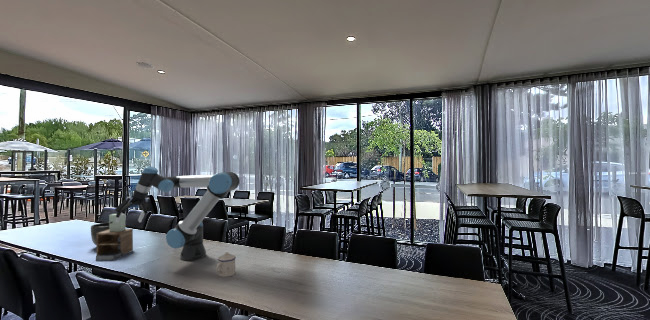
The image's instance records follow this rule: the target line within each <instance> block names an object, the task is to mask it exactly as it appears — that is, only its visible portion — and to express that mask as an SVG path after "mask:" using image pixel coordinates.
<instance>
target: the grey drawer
mask: <svg viewBox="0 0 650 320" xmlns="http://www.w3.org/2000/svg"><path fill="white" fill-rule="evenodd" d="M118 243H121V237H118ZM118 251H121V245H118ZM122 257H124V255H123V252H105V253H102V254H100V255H98V256H97V255H96V256H95V261H96V262H97V261H99V262H100V261H101V262H102V261H107V262H108V261H115V260H118V259H120V258H122Z"/></svg>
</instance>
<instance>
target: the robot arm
mask: <svg viewBox="0 0 650 320" xmlns="http://www.w3.org/2000/svg"><path fill="white" fill-rule="evenodd" d="M240 180H241V179H240V177H239V175H238V174H237V173H235V172H232V171H227V172H226V171H225V172H221V171H220V172H217V173H215V174H211V175H210V174H209V175H208V174H207V175H173V176H162V175H160V174H159V169H157V167H153V166H151V165H147V166H144V168H143V170H142V172H141V175H140V177H139V180H138V182H137V184H136V186H135V189H134V191H133V193H132V196H131V197H130V196H128V195H127V196H126V197H125V199H124V200H122V202H121V203H120V204H119V205H118V206H116V208H114V210H115V211H116V212H117V213H115V214H116V220H115V222H116V223H119V221H120V218H121V216H122V214H124V213H123V212H124V211H126V210H128V208H129V209H130V208H131V207H132V206H140V207H141V209H142V211H141V212H140V215H139V217H138V219H137V221H138V222H139V223H142V222H143V219H144V218H145V217H146V214H149V213H150V212H151V205H150V204H151V202H150V201H151V198H150V197H148V195H149V192H150V191H151V188H152V187H154V188H156V189H157V190H159V191H161V192H163V193H169V192H171V191H172V190H173V189H176V188H178V189H181V188H206V192H205V193H204V194H203V195H202V196H201V198H200V199H199V201H198V202H197V203H196V205H195V206H193V208H192V209H191V210H190V212H189V213H188V214H187V216H186V217H185V218H184V219H183V220H180V221H179V222H178V223H177V224H176V225H175V226H174V228H172V229H170V230H169V231H168V232H167V233H166V235H165V240H166V243H167V245H168V246H169V247H170V248H172V249H176V250H177V249H180V248H182V249H181V252H180V257H179V259H180V260H182V261H195V260H201V259H203V258H205V257H206V256H207V250H206V248H205V247H206V246H205V245H204V224H203V223H204V222H203V220H205V218H206V217H207V216H208V214H209V213H210V212H211V211H212V210H213V208H214V207H215V206H216V204H217V203H218V202H219V201H220V200H223V199H224V198H225V197H226V196H227V195H228V193H229V192H231V191H234V190H237V188H238V187H239V186H240ZM144 202H145V203H144Z"/></svg>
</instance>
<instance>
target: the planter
mask: <svg viewBox="0 0 650 320" xmlns="http://www.w3.org/2000/svg"><path fill="white" fill-rule="evenodd" d="M108 229H109V221H108V222H101V223H95V224H93V225H90V236H91V241H92V243H93V244H94V245H95V246H97V245H96V233H99V232H102V231H105V230H108Z"/></svg>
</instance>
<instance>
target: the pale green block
mask: <svg viewBox="0 0 650 320" xmlns="http://www.w3.org/2000/svg"><path fill="white" fill-rule="evenodd" d="M116 214H117V213H112V214H109V215H108V216H109V217H108V218H109V221H108V222H109V229H110V231H124V230H125V229H126V213H123V214H122V216H121V218H120V221H119V223H116V222H115V220H116Z"/></svg>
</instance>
